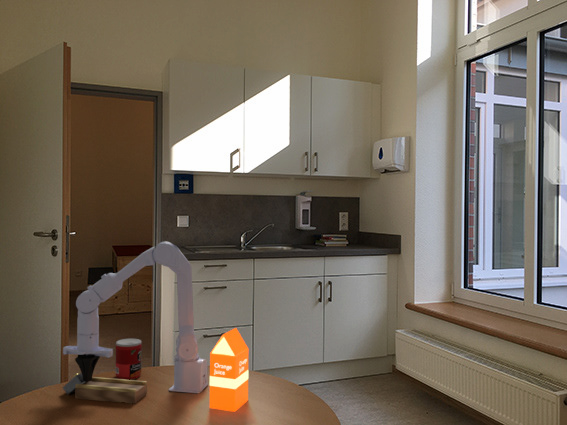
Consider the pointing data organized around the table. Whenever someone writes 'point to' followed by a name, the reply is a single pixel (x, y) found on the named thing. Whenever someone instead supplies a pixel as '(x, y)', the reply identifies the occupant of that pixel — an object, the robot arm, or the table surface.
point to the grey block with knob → (73, 383)
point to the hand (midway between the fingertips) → (87, 380)
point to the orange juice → (229, 372)
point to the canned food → (128, 358)
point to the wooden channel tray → (111, 390)
